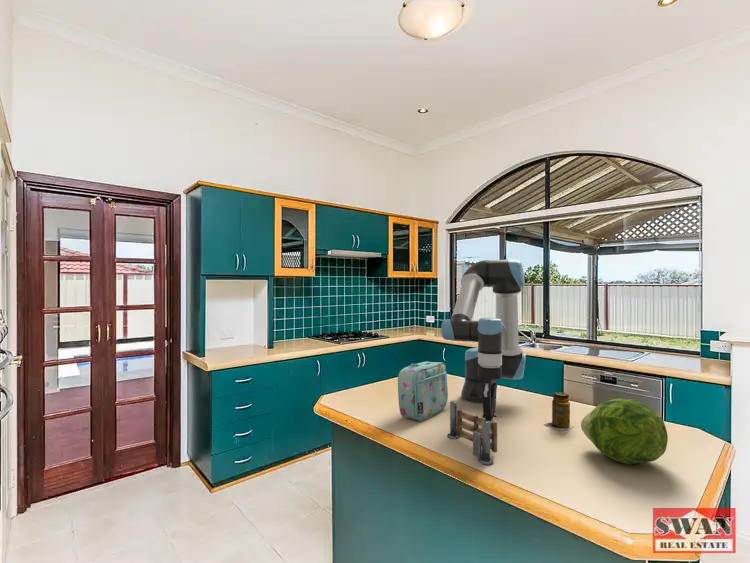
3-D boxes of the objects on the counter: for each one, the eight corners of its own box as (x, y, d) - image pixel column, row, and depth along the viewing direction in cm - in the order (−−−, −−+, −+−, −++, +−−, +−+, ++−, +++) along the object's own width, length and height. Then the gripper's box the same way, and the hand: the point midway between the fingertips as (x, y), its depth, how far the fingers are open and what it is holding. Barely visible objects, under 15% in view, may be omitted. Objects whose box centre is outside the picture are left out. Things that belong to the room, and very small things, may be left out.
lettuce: (599, 441, 135) (587, 389, 136) (681, 455, 117) (668, 395, 117) (572, 465, 124) (560, 407, 124) (659, 485, 105) (644, 417, 105)
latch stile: (485, 455, 122) (485, 416, 122) (496, 464, 117) (496, 423, 117) (472, 457, 121) (472, 418, 121) (483, 466, 115) (483, 425, 115)
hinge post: (456, 433, 140) (456, 400, 140) (462, 438, 136) (462, 403, 136) (445, 435, 139) (445, 401, 139) (450, 440, 135) (450, 404, 135)
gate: (457, 436, 135) (457, 410, 135) (459, 435, 136) (459, 409, 136) (494, 452, 122) (494, 423, 122) (497, 451, 123) (497, 422, 123)
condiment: (574, 426, 147) (574, 394, 147) (561, 431, 143) (561, 398, 143) (556, 421, 153) (556, 390, 153) (543, 425, 149) (543, 393, 149)
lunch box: (417, 426, 147) (417, 369, 148) (395, 420, 154) (395, 365, 154) (450, 408, 169) (450, 358, 169) (429, 403, 175) (429, 355, 175)
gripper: (482, 360, 137) (482, 428, 137) (473, 368, 125) (473, 442, 125) (505, 363, 133) (504, 432, 133) (497, 370, 122) (497, 447, 122)
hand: (489, 437), depth 129 cm, fingers closed
